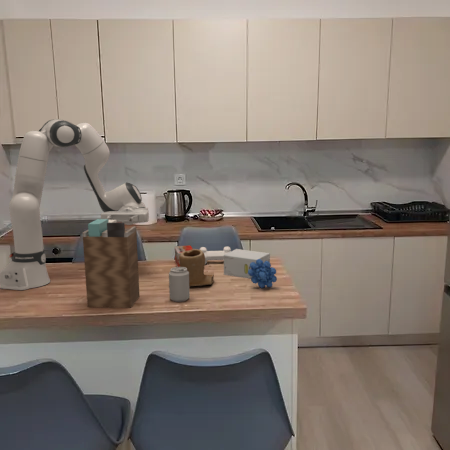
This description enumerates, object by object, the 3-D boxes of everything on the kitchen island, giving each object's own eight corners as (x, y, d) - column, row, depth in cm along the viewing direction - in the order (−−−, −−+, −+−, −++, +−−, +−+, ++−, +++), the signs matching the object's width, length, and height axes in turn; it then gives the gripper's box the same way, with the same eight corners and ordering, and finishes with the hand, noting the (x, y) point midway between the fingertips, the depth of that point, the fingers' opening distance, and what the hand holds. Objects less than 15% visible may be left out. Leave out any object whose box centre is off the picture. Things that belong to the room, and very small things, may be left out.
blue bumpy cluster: (247, 291, 186) (247, 261, 183) (248, 285, 192) (248, 257, 190) (277, 291, 185) (277, 262, 182) (276, 286, 191) (276, 257, 189)
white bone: (230, 261, 232) (230, 245, 231) (231, 264, 223) (231, 248, 222) (199, 262, 231) (199, 246, 230) (199, 265, 222) (199, 248, 222)
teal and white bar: (88, 236, 166) (87, 224, 165) (107, 225, 185) (106, 214, 185) (99, 236, 166) (99, 224, 165) (117, 226, 185) (116, 214, 184)
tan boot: (178, 290, 187) (177, 254, 184) (177, 281, 199) (176, 247, 196) (216, 289, 189) (215, 252, 186) (213, 280, 200) (213, 246, 198)
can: (186, 303, 173) (185, 271, 171) (167, 302, 175) (165, 270, 172) (191, 296, 180) (191, 266, 178) (173, 295, 182) (172, 265, 180)
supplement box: (223, 275, 208) (222, 254, 206) (237, 267, 219) (236, 248, 218) (257, 280, 200) (257, 259, 198) (270, 272, 211) (270, 252, 210)
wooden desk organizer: (87, 306, 170) (81, 222, 165) (99, 295, 182) (94, 217, 176) (130, 307, 169) (126, 223, 163) (139, 296, 181) (135, 217, 175)
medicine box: (174, 261, 232) (174, 245, 230) (190, 260, 234) (190, 244, 232) (178, 269, 217) (178, 253, 216) (195, 268, 219) (195, 251, 218)
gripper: (106, 207, 208) (94, 212, 195) (151, 207, 207) (143, 212, 193) (106, 221, 209) (95, 226, 196) (151, 221, 208) (143, 227, 194)
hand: (119, 219), depth 194 cm, fingers open, 8 cm apart
